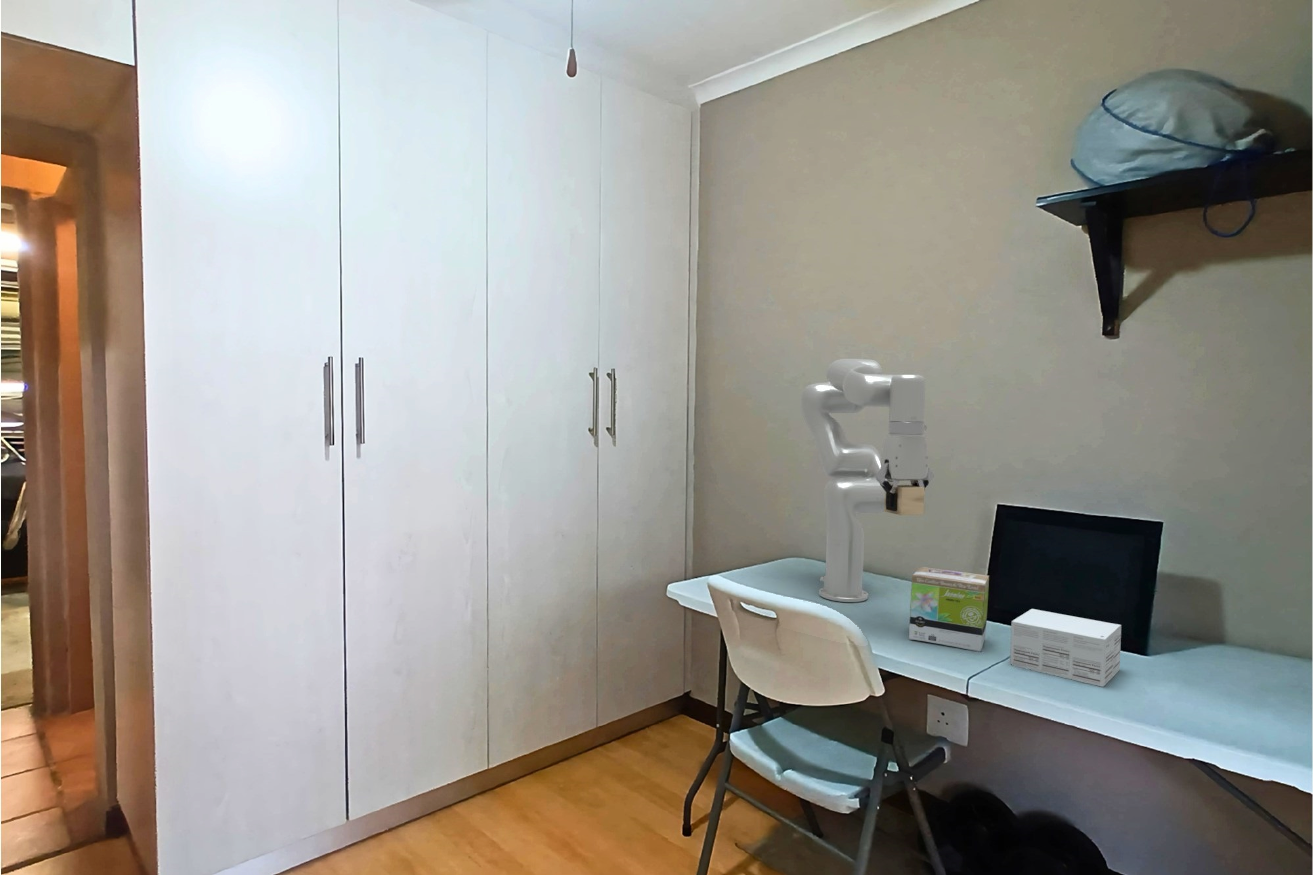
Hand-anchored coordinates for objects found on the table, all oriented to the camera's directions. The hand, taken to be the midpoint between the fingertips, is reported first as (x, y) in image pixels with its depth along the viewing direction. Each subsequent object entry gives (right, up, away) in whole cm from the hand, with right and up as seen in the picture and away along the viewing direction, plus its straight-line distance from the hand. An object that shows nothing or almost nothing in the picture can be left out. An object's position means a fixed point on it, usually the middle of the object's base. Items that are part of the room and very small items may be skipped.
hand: (903, 508), depth 173 cm
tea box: (+8, -29, -5) cm, 30 cm away
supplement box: (+25, -30, -20) cm, 44 cm away
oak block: (0, -1, 0) cm, 1 cm away
